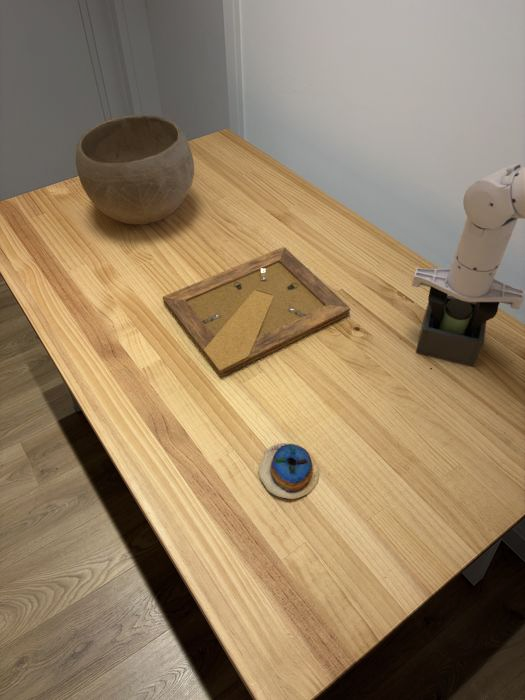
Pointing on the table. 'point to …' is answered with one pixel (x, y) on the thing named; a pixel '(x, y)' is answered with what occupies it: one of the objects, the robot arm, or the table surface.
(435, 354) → the bin
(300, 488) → the dessert
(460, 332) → the green lidded canister
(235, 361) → the picture frame
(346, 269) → the table surface
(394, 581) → the table surface
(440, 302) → the robot arm
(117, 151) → the bowl
